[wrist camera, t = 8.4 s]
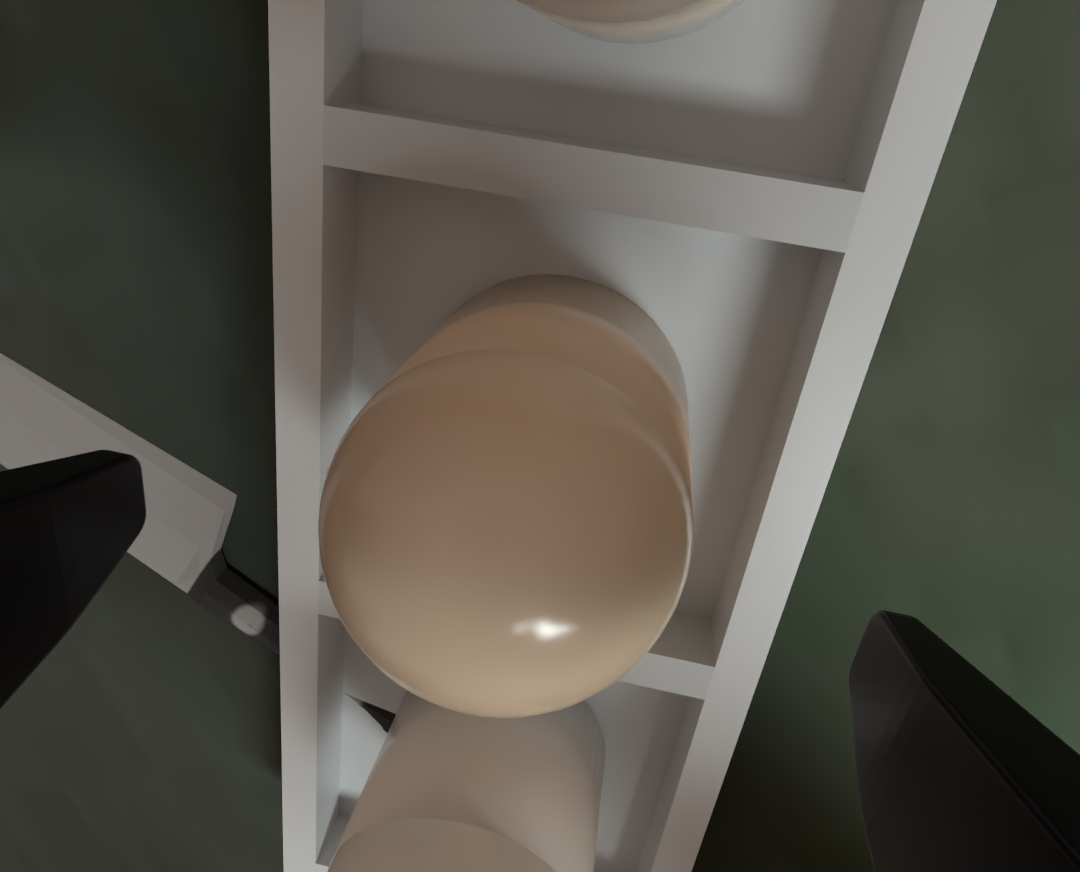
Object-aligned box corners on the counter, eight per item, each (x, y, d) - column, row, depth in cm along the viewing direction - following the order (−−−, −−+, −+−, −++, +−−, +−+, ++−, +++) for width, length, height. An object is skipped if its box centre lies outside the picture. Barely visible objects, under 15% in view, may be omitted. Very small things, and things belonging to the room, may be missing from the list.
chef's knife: (-250, 129, 15) (-282, 249, 16) (-317, 128, 14) (-346, 256, 15) (506, 664, 18) (435, 737, 19) (498, 697, 17) (423, 773, 18)
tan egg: (656, 545, 14) (647, 850, 9) (413, 496, 15) (249, 756, 9) (716, 301, 12) (755, 490, 7) (431, 252, 13) (232, 388, 7)
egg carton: (1148, -617, 8) (1283, -818, 6) (657, 889, 19) (656, 971, 17) (337, -674, 9) (252, -866, 7) (318, 806, 20) (283, 876, 18)
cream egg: (624, 684, 16) (595, 1020, 10) (586, 834, 18) (545, 1183, 12) (404, 635, 16) (259, 932, 11) (393, 788, 18) (266, 1104, 13)
